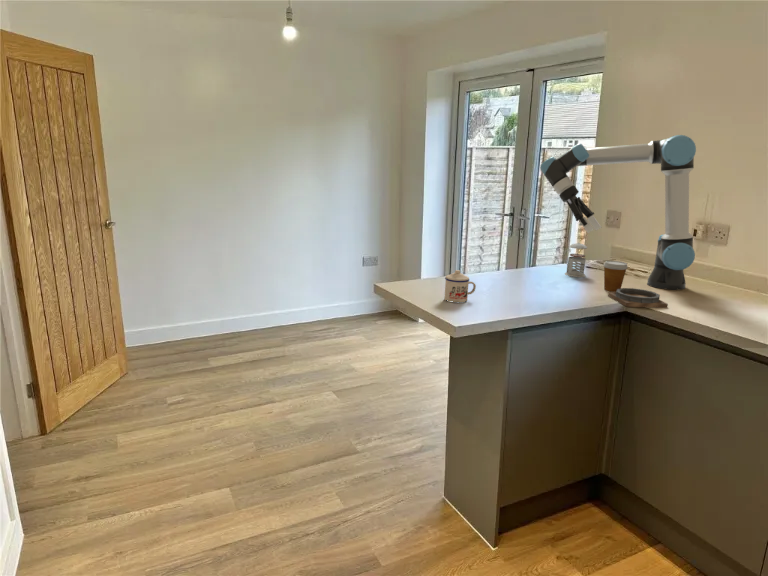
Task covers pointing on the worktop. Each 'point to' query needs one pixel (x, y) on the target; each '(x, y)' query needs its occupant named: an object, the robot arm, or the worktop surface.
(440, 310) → the worktop surface
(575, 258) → the french press
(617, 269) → the disposable coffee cup
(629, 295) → the docking plate
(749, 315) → the worktop surface
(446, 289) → the teacup with lid
